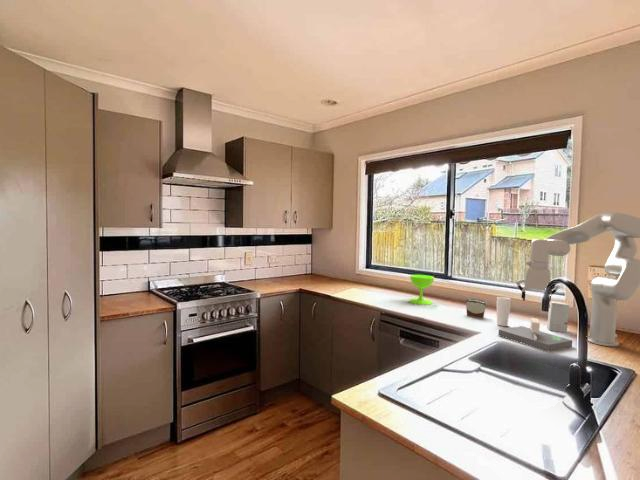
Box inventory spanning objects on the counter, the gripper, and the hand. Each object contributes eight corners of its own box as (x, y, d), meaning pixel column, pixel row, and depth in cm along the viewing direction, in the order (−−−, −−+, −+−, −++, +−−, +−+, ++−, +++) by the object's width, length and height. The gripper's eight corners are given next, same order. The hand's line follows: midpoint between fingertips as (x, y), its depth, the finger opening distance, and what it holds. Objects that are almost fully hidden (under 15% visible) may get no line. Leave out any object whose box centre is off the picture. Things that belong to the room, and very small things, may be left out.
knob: (530, 330, 175) (530, 317, 175) (537, 332, 174) (538, 318, 174) (531, 338, 162) (532, 324, 162) (539, 340, 161) (540, 325, 160)
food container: (489, 317, 213) (490, 300, 213) (485, 319, 209) (486, 302, 209) (468, 313, 222) (469, 297, 221) (464, 315, 217) (465, 298, 217)
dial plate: (521, 331, 185) (522, 325, 185) (572, 346, 164) (572, 340, 164) (498, 335, 177) (498, 329, 177) (548, 351, 156) (548, 344, 155)
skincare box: (549, 330, 190) (551, 302, 190) (546, 327, 196) (548, 300, 195) (567, 332, 187) (569, 304, 187) (564, 330, 193) (566, 302, 192)
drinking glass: (496, 322, 202) (498, 296, 201) (510, 325, 198) (512, 298, 197) (493, 325, 197) (495, 297, 196) (507, 327, 192) (509, 299, 192)
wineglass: (437, 303, 248) (439, 277, 248) (422, 305, 239) (423, 278, 239) (419, 299, 261) (420, 274, 261) (404, 300, 252) (405, 275, 252)
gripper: (517, 264, 170) (514, 300, 170) (561, 268, 162) (558, 305, 162) (517, 263, 176) (514, 297, 177) (559, 266, 168) (556, 303, 169)
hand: (535, 301), depth 170 cm, fingers open, 9 cm apart
